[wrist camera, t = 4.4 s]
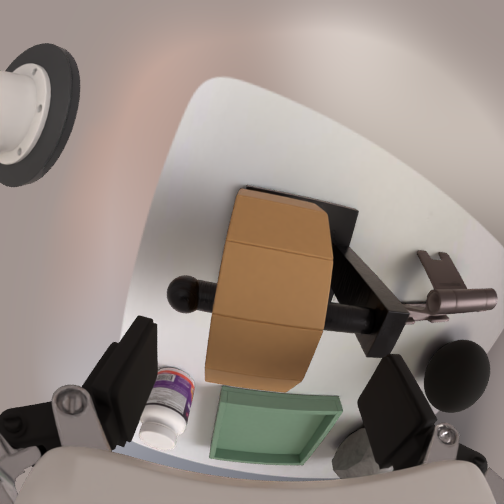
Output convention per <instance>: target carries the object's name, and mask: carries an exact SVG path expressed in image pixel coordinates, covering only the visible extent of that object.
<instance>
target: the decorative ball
mask: <svg viewBox="0 0 504 504" xmlns="http://www.w3.org/2000/svg"><path fill="white" fill-rule="evenodd" d="M489 376H490V364H489V360H488V357H487V354H486V352H485V351H484V350H483V348H482V347H481V346H479V345H478V344H476V343H475V342H472V341H469V340H457V341H453V342H451V343H449V344H447V345H445V346H443V347H442V348H441V349H440V350H438V351H437V352H436V354H435V355H434V356H433V357H432V359H431V360H430V362H429V364H428V366H427V369H426V372H425V377H424V389H425V393H426V396H427V398H428V400H429V402H430V403H431V404H432V405H433V406H434V407H435V408H437V409H438V410H440V411H443V412H448V413H454V412H459V411H462V410H465V409H466V408H468V407H470V406H471V405H473V404H474V403H475V402H476V401H477V400H478V399H479V398H480V397H481V395H482V394H483V392H484V391H485V388H486V386H487V384H488V381H489Z"/></svg>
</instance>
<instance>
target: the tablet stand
mask: <svg viewBox="0 0 504 504" xmlns="http://www.w3.org/2000/svg"><path fill="white" fill-rule="evenodd" d="M417 255H418V257H419V259H420V261H421V263H422V265H423V267H424V269H425V271H426V273H427V275H428V277H429V279H430V281H431V283H432V286H433V288H434V289H433V290H431V291H430V292H429V294H428V296H427V300H426V304H403V306H404V307H405V308H406V309H407V310H408V311H409V313H410V315H409V317H408V320H407V322H406V324H414V323H415V321H420V320H428V321H429V322H431V323H434V322H445V321H449V318H448V317H447V315H446V314H455V313H466V312H481V311H486V310H492V309H493V308H494V307H495V306H496V303H497V294H496V291H495V290H494V289H492V288H488V289H467V287H466V285H465V284H464V282H463V280H462V278H461V276H460V274H459V272H458V271H457V269H456V267H455V265H454V264H453V262H452V260H451V258H450V257H449V255H448V254H447V253H443V252H439V256H440V259H441V260H433V259H431V257H430V256H429V255H428V253H427V252H426V251H418V252H417ZM406 324H405V325H406Z"/></svg>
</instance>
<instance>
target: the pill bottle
mask: <svg viewBox="0 0 504 504" xmlns="http://www.w3.org/2000/svg"><path fill="white" fill-rule="evenodd" d="M194 390H195V384H194V381H193V380H192V378H191V377H190V376H189V375H188V374H186V373H185V372H183V371H181V370H179V369H175V368H162V369H160V370H158V375H157V379H156V382H155V384H154V386H153V389H152V391H151V394H150V396H149V398H148V401H147V403H146V406H145V408H144V411H143V413H142V416H141V418H140V420H141V422H142V426H141V429H140V432H139V438H140V439H141V440H142V441H143V442H144V443H145V444H147V445H149V446H151V447H153V448H156V449H160V450H171V449H173V448H174V447H175V445H176V441H177V436H178V435H180V434H182V433H183V432H184V431H185V429H186V425H187V421H188V417H189V412H190V407H191V403H192V399H193V395H194Z"/></svg>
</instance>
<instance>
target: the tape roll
mask: <svg viewBox="0 0 504 504" xmlns="http://www.w3.org/2000/svg"><path fill="white" fill-rule="evenodd" d="M332 260H333V253H332V244H331V236H330V229H329V221H328V215H327V213H326V212H325V211H324V210H322V209H321V208H320V207H319V206H317V205H316V204H315V203H311V202H306V201H302V200H297V199H292V198H288V197H283V196H278V195H273V194H268V193H263V192H258V191H253V190H247V189H242V188H241V189H240V190H239V192H238V194H237V196H236V199H235V203H234V207H233V211H232V216H231V220H230V224H229V228H228V232H227V236H226V242H225V246H224V251H223V256H222V261H221V267H220V272H219V277H218V283H217V288H216V293H215V299H214V305H213V310H212V317H211V324H210V331H209V338H208V346H207V354H206V361H205V381H206V382H211V383H217V384H222V385H228V386H235V387H242V388H249V389H257V390H265V391H274V392H287V391H289V390H290V389H292V388H293V387H294V386H296V385H297V384H299V383H300V382H301V381H302V380H303V378H304V376H305V374H306V372H307V369H308V367H309V365H310V362H311V360H312V358H313V355H314V353H315V350H316V348H317V345H318V343H319V340H320V338H321V335H322V333H323V329H324V324H325V318H326V311H327V305H328V298H329V291H330V284H331V276H332V268H333V261H332Z"/></svg>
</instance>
